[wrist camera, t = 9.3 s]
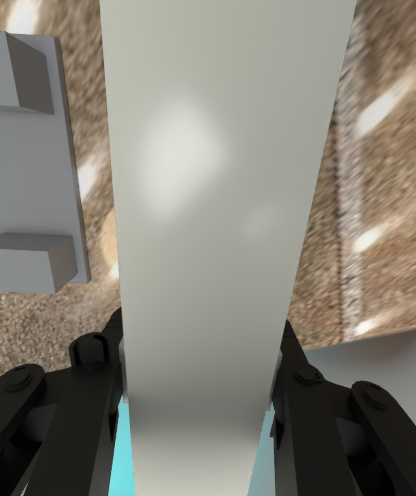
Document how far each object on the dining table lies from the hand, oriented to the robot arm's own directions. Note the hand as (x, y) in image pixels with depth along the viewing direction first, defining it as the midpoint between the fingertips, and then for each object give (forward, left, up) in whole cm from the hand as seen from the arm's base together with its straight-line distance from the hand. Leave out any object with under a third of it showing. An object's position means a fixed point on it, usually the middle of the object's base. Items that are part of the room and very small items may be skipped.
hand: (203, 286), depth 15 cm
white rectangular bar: (0, 0, +3) cm, 3 cm away
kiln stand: (-4, -20, -16) cm, 26 cm away
